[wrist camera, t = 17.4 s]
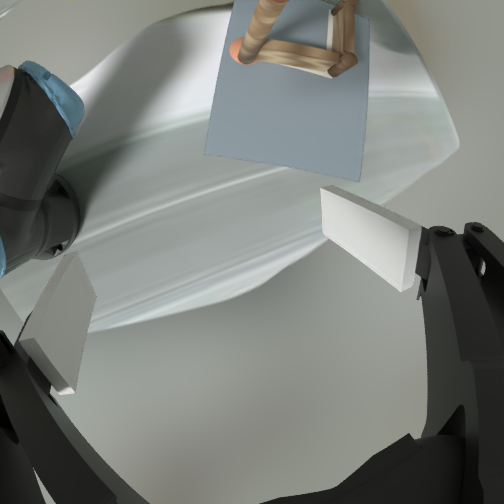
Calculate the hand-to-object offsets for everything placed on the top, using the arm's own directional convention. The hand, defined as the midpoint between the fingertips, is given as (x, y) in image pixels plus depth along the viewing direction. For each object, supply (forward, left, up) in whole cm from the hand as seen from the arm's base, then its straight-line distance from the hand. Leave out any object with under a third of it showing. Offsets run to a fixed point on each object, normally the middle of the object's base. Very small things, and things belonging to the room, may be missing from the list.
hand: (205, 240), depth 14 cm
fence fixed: (+20, +35, -32) cm, 51 cm away
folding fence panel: (+10, +26, -32) cm, 43 cm away
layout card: (+14, +26, -33) cm, 44 cm away
